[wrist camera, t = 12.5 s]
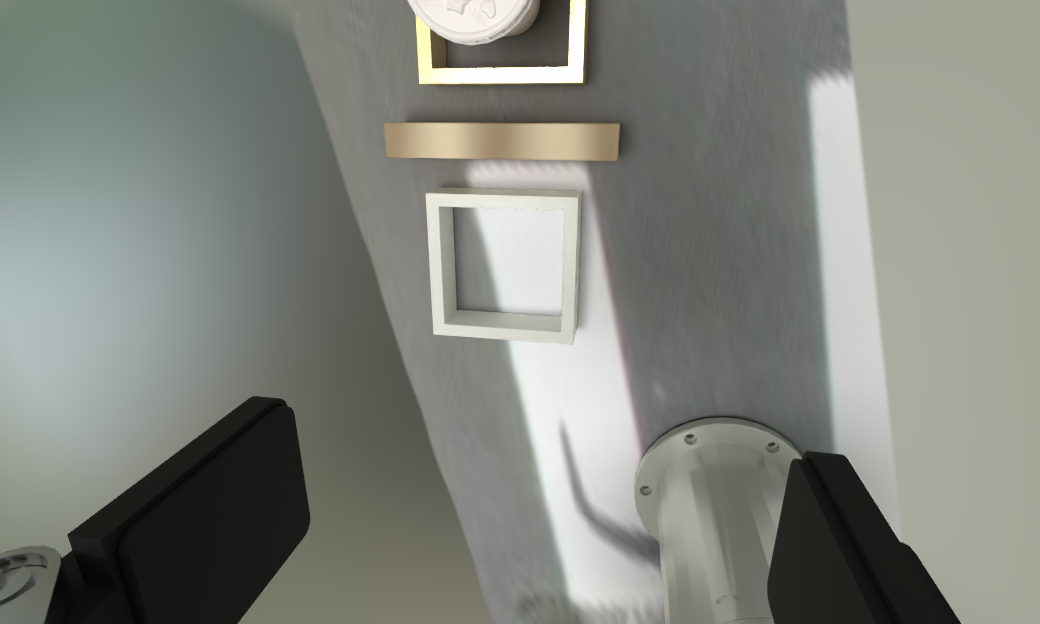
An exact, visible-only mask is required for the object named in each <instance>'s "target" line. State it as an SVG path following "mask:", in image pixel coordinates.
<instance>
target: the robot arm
mask: <svg viewBox="0 0 1040 624" xmlns="http://www.w3.org/2000/svg"><path fill="white" fill-rule="evenodd" d="M688 434H692V435H688ZM771 442H772V443H771ZM635 502H636V507H637V512H638V514H639V516H640V518H641V520H642V523H643V525H644V526H645V527H646V529H647V530H648V531H649V533H650V534H651V536H653V537H654V538H655V539H656V540H657V541H658V542H659V547H660V561H661V576H662V590H663V604H664V619H665V624H961V623H960V621H959V620H958V618H957V617H956V615H955V613H954V612H953V610H952V609H951V607H950V606H949V604H948V603H947V601H946V600H945V598H944V597H943V595H942V594H941V592H940V590H939V589H938V587H937V586H936V584H935V583H934V581H933V579H932V578H931V576H930V575H929V573H928V572H927V570H926V569H925V567H924V566H923V565H922V563H921V561H920V559H919V558H918V556H917V555H916V553H915V552H914V551H913V550H912V549H911V548H910V546H908V545H906V544H904V543H902V542H899V540H898V538H897V537H896V535H895V534H894V532H893V530H892V529H891V527H890V526H889V524H888V523H887V521H886V519H885V518H884V516H883V515H882V513H881V511H880V510H879V508H878V507H877V505H876V503H875V502H874V500H873V499H872V497H871V496H870V494H869V492H868V491H867V489H866V488H865V486H864V484H863V483H862V481H861V480H860V478H859V476H858V475H857V473H856V472H855V470H854V469H853V467H852V465H851V464H850V462H849V461H848V459H847V458H846V457H845V456H844V455H841V454H831V453H821V452H811V451H807V452H805V453H804V455H803V457H802V456H801V454H800V453H799V451H798V450H797V449H796V448H795V447H794V446H793V445H792V444H791V443H790V442H789V441H788V440H787V439H785V438H784V437H782V436H781V435H779V434H778V433H777V432H775V431H774V430H771V429H769V428H767V427H765V426H762V425H760V424H758V423H754V422H750V421H746V420H742V419H735V418H724V417H722V418H707V419H702V420H697V421H693V422H689V423H686V424H684V425H682V426H679V427H677V428H674V429H672V430H671V431H669V432H668V433H666V434H665V435H663V436H662V437H660V438H659V439H658V440H657V441H656V442H655V443H654V444H653V445H652V446H651V447H650V448H649V449H648V451H647V452H646V454H645V455H644V457H643V458H642V459H641V462H640V464H639V467H638V470H637V472H636V479H635ZM309 524H310V512H309V505H308V499H307V494H306V486H305V480H304V473H303V468H302V460H301V454H300V448H299V441H298V435H297V428H296V422H295V415H294V411H293V410H292V408H290V407H288V406H287V404H286V402H285V401H284V400H283V399H279V398H269V397H258V396H253V397H251V398H249V399H248V400H247V401H245V402H244V403H242V404H241V405H240V406H238V407H237V408H236V409H234V410H233V411H232V412H231V413H229V414H228V415H226V416H225V417H224V418H222V419H221V420H220V421H218V422H217V423H216V424H215V425H213V426H212V427H210V428H209V429H208V430H206V431H205V432H204V433H202V434H201V435H200V436H198V437H197V438H196V439H194V440H193V441H192V442H190V443H189V444H188V445H186V446H185V447H184V448H182V449H181V450H180V451H178V452H177V453H176V454H174V455H173V456H172V457H170V458H169V459H168V460H166V461H165V462H164V463H162V464H161V465H160V466H159V467H157V468H156V469H154V470H153V471H152V472H150V473H149V474H148V475H146V476H145V477H144V478H142V479H141V480H140V481H138V482H137V483H136V484H134V485H133V486H132V487H130V488H129V489H128V490H126V491H125V492H124V493H122V494H121V495H120V496H118V497H117V498H116V499H114V500H113V501H112V502H110V503H109V504H108V505H106V506H105V507H104V508H102V509H101V510H100V511H98V512H97V513H96V514H94V515H93V516H91V517H90V518H89V519H87V520H86V521H85V522H83V523H82V524H81V525H79V526H78V527H77V528H75V529H74V530H73V531H71V532H70V533H69V534H68V538H69V541H70V544H71V547H72V551H71V552H69V553H68V554H67V555H66V556H64V557H63V558H61V555H60V554H59V553H58V552H57V551H56V550H55V549H54V548H50V547H47V546H27V547H22V548H18V549H13V550H9V551H6V552H3V553H0V624H237V623H238V622H239V621H240V620H241V618H242V617H243V616H244V614H245V613H246V612H247V611H248V609H249V608H250V607H251V605H252V604H253V603H254V601H255V600H256V599H257V597H258V596H259V595H260V594H261V592H262V591H263V590H264V588H265V587H266V586H267V585H268V583H269V582H270V580H271V579H272V578H273V577H274V575H275V574H276V573H277V571H278V570H279V569H280V568H281V566H282V565H283V564H284V562H285V561H286V560H287V559H288V557H289V556H290V555H291V553H292V552H293V551H294V549H295V548H296V547H297V545H298V544H299V543H300V541H301V540H302V539H303V538H304V536H305V535H306V533H307V531H308V528H309Z"/></svg>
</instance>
